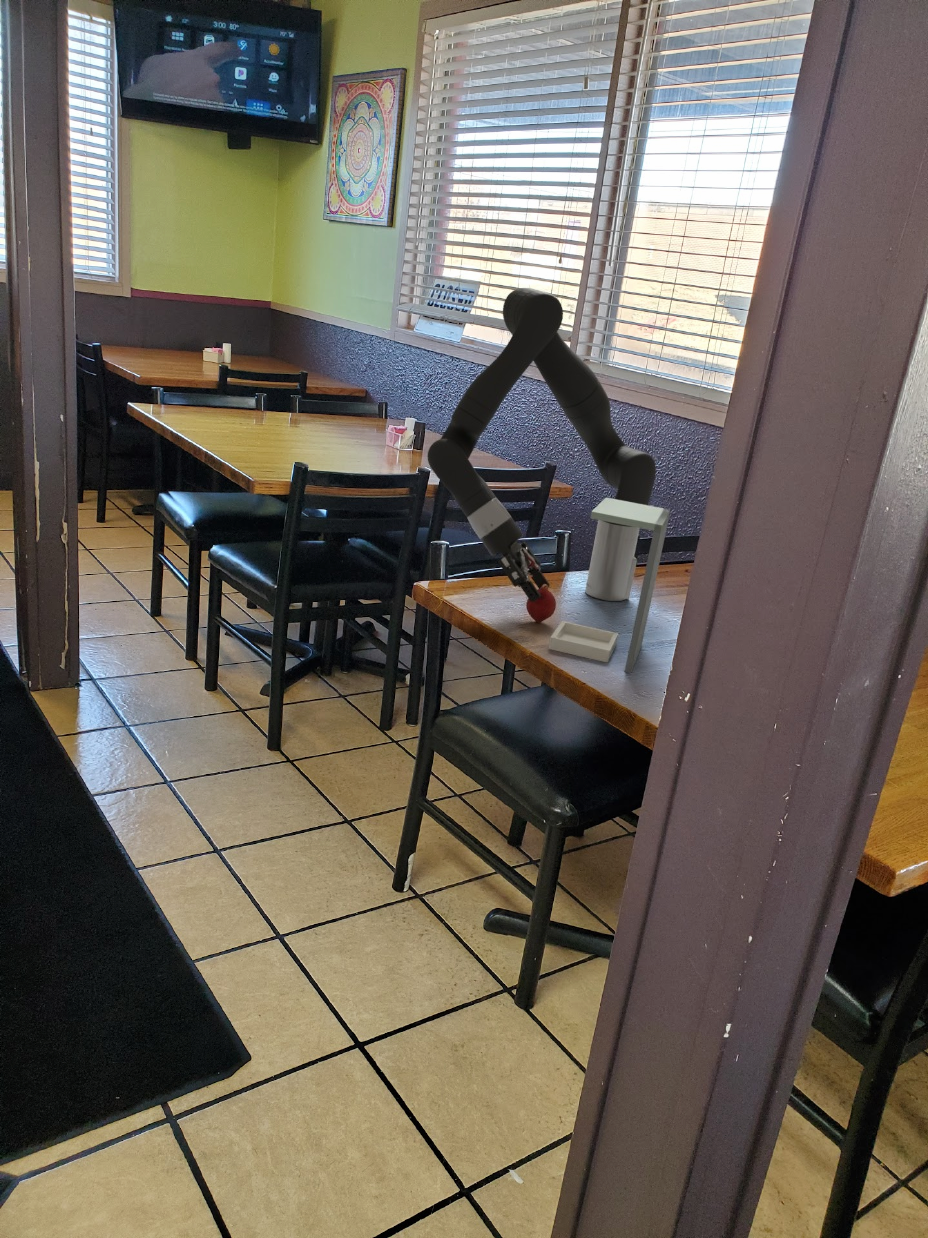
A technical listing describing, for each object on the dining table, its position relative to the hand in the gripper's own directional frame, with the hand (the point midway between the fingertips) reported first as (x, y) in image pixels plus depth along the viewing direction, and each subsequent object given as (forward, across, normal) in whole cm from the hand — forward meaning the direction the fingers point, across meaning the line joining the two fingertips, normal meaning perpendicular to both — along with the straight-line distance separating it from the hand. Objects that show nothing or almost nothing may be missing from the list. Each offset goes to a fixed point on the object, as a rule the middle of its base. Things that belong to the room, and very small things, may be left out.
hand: (541, 594), depth 184 cm
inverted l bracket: (+15, -8, -7) cm, 18 cm away
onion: (+5, 0, +4) cm, 6 cm away
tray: (+12, -8, -4) cm, 15 cm away
